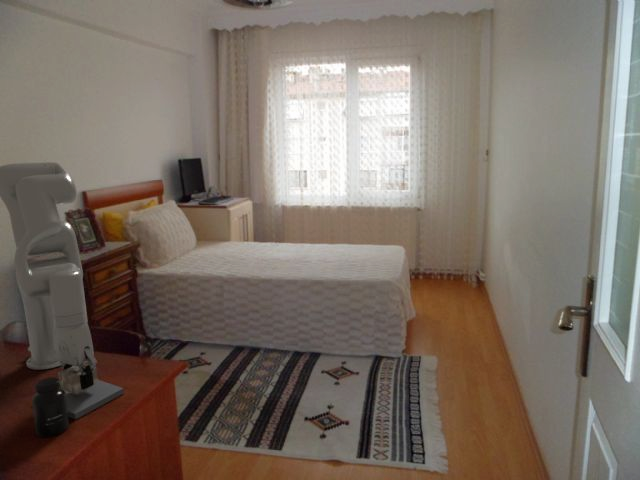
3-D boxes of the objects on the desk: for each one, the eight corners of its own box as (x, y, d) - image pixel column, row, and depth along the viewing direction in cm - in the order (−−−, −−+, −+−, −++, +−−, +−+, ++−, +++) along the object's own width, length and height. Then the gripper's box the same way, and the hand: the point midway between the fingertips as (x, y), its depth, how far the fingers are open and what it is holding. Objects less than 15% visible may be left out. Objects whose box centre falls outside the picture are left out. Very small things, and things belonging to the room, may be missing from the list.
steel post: (73, 394, 127) (69, 369, 125) (81, 390, 129) (78, 365, 127) (79, 396, 126) (75, 371, 124) (87, 392, 128) (84, 367, 126)
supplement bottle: (55, 439, 110) (48, 390, 108) (29, 436, 111) (22, 388, 109) (76, 422, 117) (70, 376, 114) (51, 419, 118) (44, 373, 116)
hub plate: (36, 403, 125) (35, 398, 125) (85, 380, 137) (84, 375, 137) (75, 419, 118) (74, 414, 117) (123, 393, 130) (123, 388, 129)
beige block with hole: (60, 388, 126) (57, 371, 125) (82, 378, 131) (80, 361, 130) (75, 394, 123) (73, 377, 122) (98, 383, 128) (96, 366, 127)
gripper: (35, 318, 124) (45, 383, 128) (78, 329, 116) (87, 398, 119) (63, 309, 131) (71, 371, 134) (106, 319, 122) (113, 385, 126)
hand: (79, 383), depth 127 cm, fingers closed on beige block with hole, 6 cm apart
